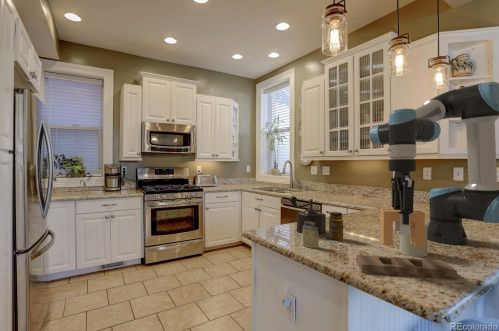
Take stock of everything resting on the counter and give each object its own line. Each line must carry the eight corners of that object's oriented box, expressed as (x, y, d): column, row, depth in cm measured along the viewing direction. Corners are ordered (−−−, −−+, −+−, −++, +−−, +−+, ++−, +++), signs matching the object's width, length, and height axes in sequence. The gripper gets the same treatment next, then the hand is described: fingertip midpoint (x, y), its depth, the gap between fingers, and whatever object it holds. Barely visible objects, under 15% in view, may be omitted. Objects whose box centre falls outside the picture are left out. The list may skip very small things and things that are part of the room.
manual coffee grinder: (310, 228, 142) (310, 194, 142) (326, 232, 133) (326, 196, 133) (287, 232, 134) (287, 196, 134) (303, 237, 124) (302, 198, 124)
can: (428, 258, 96) (428, 224, 96) (398, 254, 101) (398, 222, 101) (427, 251, 104) (427, 220, 104) (399, 247, 108) (399, 217, 108)
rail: (441, 267, 87) (441, 259, 87) (456, 279, 78) (456, 270, 78) (356, 262, 92) (356, 254, 92) (361, 272, 84) (361, 264, 84)
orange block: (419, 243, 86) (419, 210, 86) (424, 247, 82) (424, 212, 82) (380, 241, 88) (380, 209, 88) (383, 244, 84) (383, 211, 84)
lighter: (320, 247, 109) (320, 222, 109) (314, 249, 107) (314, 224, 107) (305, 243, 114) (305, 220, 114) (300, 245, 112) (300, 221, 112)
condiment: (347, 239, 120) (347, 212, 120) (334, 242, 116) (334, 214, 116) (334, 236, 126) (334, 210, 126) (321, 239, 122) (321, 212, 122)
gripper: (381, 159, 94) (381, 226, 94) (398, 158, 78) (398, 239, 78) (405, 159, 93) (404, 227, 93) (427, 157, 76) (427, 240, 76)
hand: (401, 232), depth 85 cm, fingers closed on orange block, 4 cm apart
